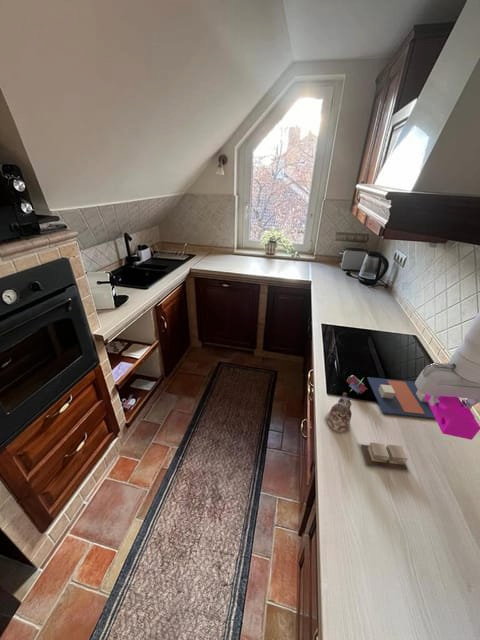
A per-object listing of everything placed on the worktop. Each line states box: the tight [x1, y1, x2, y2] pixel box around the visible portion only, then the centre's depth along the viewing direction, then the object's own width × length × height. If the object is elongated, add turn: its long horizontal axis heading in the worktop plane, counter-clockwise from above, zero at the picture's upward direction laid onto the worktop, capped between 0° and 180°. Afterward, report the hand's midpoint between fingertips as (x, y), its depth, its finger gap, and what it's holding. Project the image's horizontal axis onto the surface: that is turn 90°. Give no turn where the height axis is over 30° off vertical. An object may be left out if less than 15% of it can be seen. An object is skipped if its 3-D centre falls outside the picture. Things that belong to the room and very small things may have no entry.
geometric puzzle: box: [346, 374, 369, 395], centre depth 98 cm, size 7×7×8 cm
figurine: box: [326, 392, 352, 433], centre depth 83 cm, size 7×7×12 cm
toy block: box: [425, 395, 480, 441], centre depth 67 cm, size 15×6×8 cm, turn 165°
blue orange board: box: [366, 376, 436, 420], centre depth 96 cm, size 22×18×4 cm
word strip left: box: [360, 441, 408, 471], centre depth 75 cm, size 11×6×4 cm, turn 84°
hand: (449, 405), depth 68 cm, fingers closed on toy block, 6 cm apart
